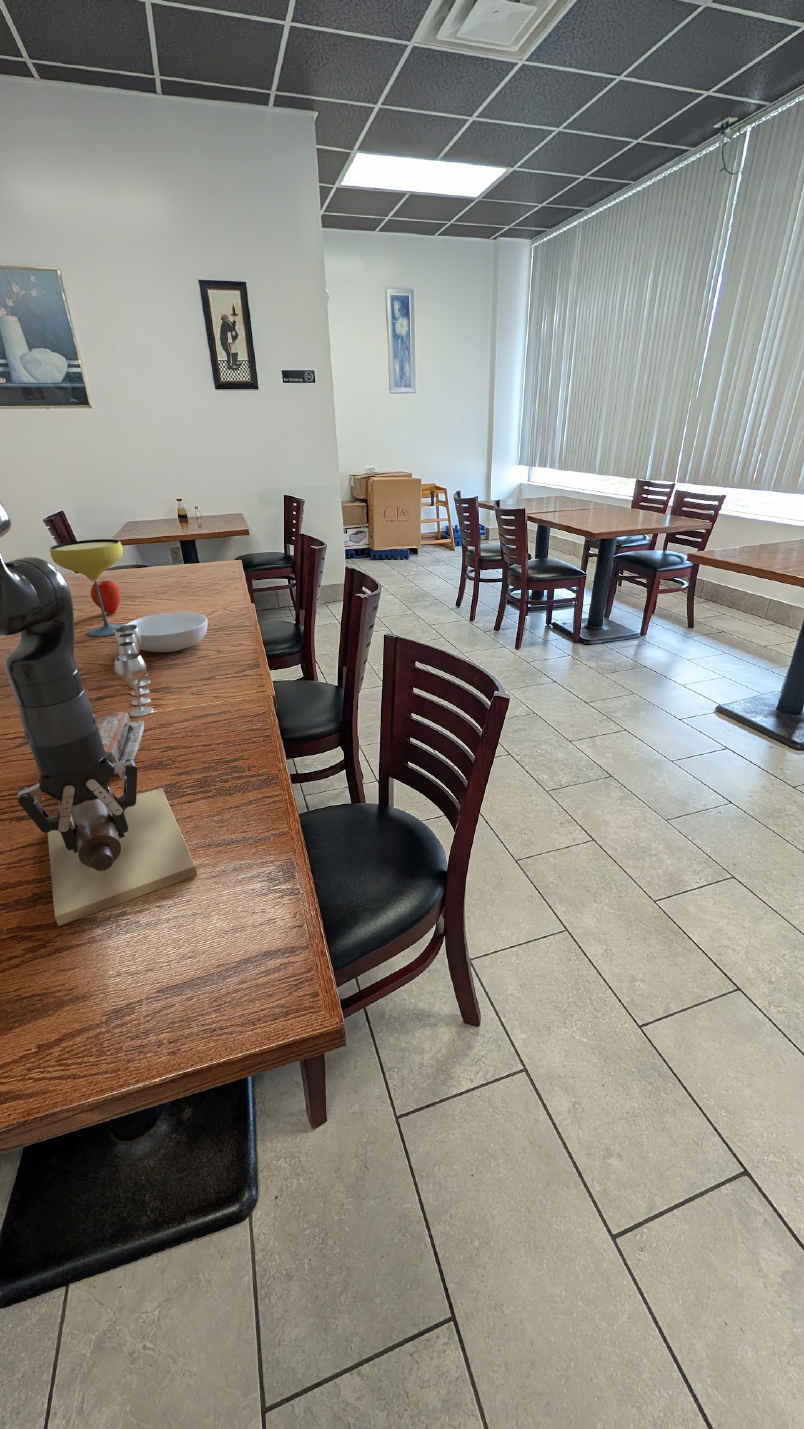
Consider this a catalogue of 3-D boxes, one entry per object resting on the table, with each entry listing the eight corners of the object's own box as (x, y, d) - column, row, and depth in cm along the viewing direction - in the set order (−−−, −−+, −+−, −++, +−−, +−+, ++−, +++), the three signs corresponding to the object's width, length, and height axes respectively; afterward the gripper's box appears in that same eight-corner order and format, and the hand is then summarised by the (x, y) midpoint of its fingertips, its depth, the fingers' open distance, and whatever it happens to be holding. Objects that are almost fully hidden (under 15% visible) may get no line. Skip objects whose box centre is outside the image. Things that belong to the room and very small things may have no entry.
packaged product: (124, 749, 96) (58, 758, 94) (131, 774, 99) (67, 783, 97) (140, 705, 112) (84, 712, 110) (146, 727, 114) (91, 735, 112)
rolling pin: (76, 820, 84) (65, 792, 82) (112, 808, 86) (102, 780, 84) (87, 885, 71) (74, 855, 69) (129, 869, 73) (117, 839, 71)
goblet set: (126, 674, 141) (112, 620, 135) (151, 669, 143) (139, 617, 137) (126, 720, 118) (110, 658, 112) (156, 714, 120) (142, 653, 114)
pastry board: (58, 926, 68) (54, 916, 67) (49, 829, 85) (46, 821, 85) (197, 875, 75) (195, 865, 75) (163, 795, 92) (161, 787, 92)
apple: (92, 617, 187) (83, 584, 182) (102, 610, 194) (93, 578, 190) (119, 616, 187) (111, 582, 183) (128, 609, 195) (120, 576, 190)
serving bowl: (171, 665, 145) (165, 638, 142) (112, 654, 154) (105, 629, 151) (227, 640, 162) (223, 615, 159) (171, 631, 171) (166, 608, 168)
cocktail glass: (80, 626, 179) (56, 542, 168) (143, 619, 183) (124, 537, 173) (68, 644, 163) (41, 552, 152) (138, 636, 168) (116, 546, 157)
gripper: (121, 703, 77) (150, 810, 85) (-6, 733, 71) (37, 846, 78) (130, 725, 71) (160, 837, 79) (-8, 759, 65) (39, 878, 72)
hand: (99, 841), depth 78 cm, fingers closed on rolling pin, 5 cm apart
